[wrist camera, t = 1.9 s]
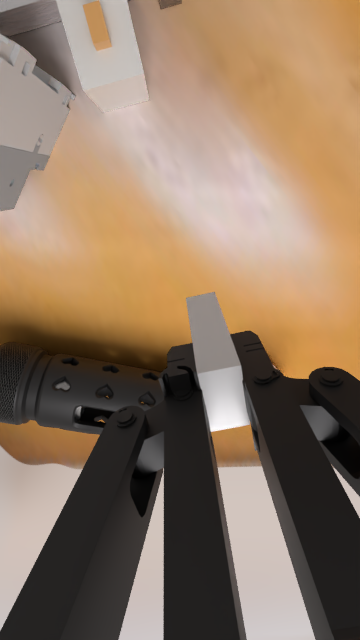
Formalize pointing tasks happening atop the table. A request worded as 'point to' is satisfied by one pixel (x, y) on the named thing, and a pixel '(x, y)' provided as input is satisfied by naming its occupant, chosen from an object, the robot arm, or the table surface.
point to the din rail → (37, 14)
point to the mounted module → (105, 51)
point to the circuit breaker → (26, 118)
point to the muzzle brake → (69, 389)
